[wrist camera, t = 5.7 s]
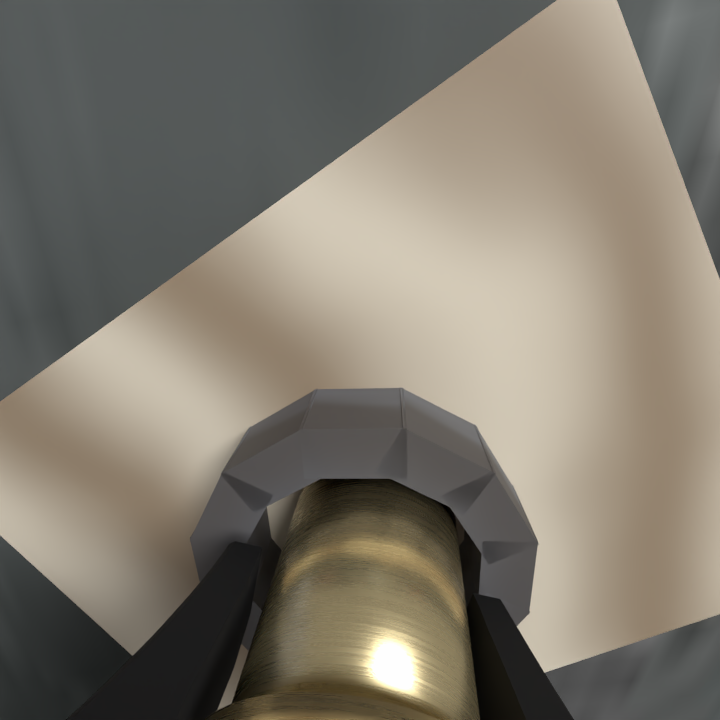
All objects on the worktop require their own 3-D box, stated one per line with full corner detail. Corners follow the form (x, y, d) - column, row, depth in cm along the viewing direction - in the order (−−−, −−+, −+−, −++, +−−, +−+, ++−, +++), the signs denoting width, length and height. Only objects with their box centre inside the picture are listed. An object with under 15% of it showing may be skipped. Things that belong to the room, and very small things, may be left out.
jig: (266, 723, 18) (239, 842, 14) (-33, 433, 13) (-168, 507, 10) (781, 537, 13) (914, 649, 10) (569, 4, 9) (677, -114, 6)
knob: (347, 606, 12) (297, 962, 7) (243, 491, 11) (73, 829, 5) (505, 555, 11) (603, 960, 5) (409, 412, 9) (408, 773, 4)
